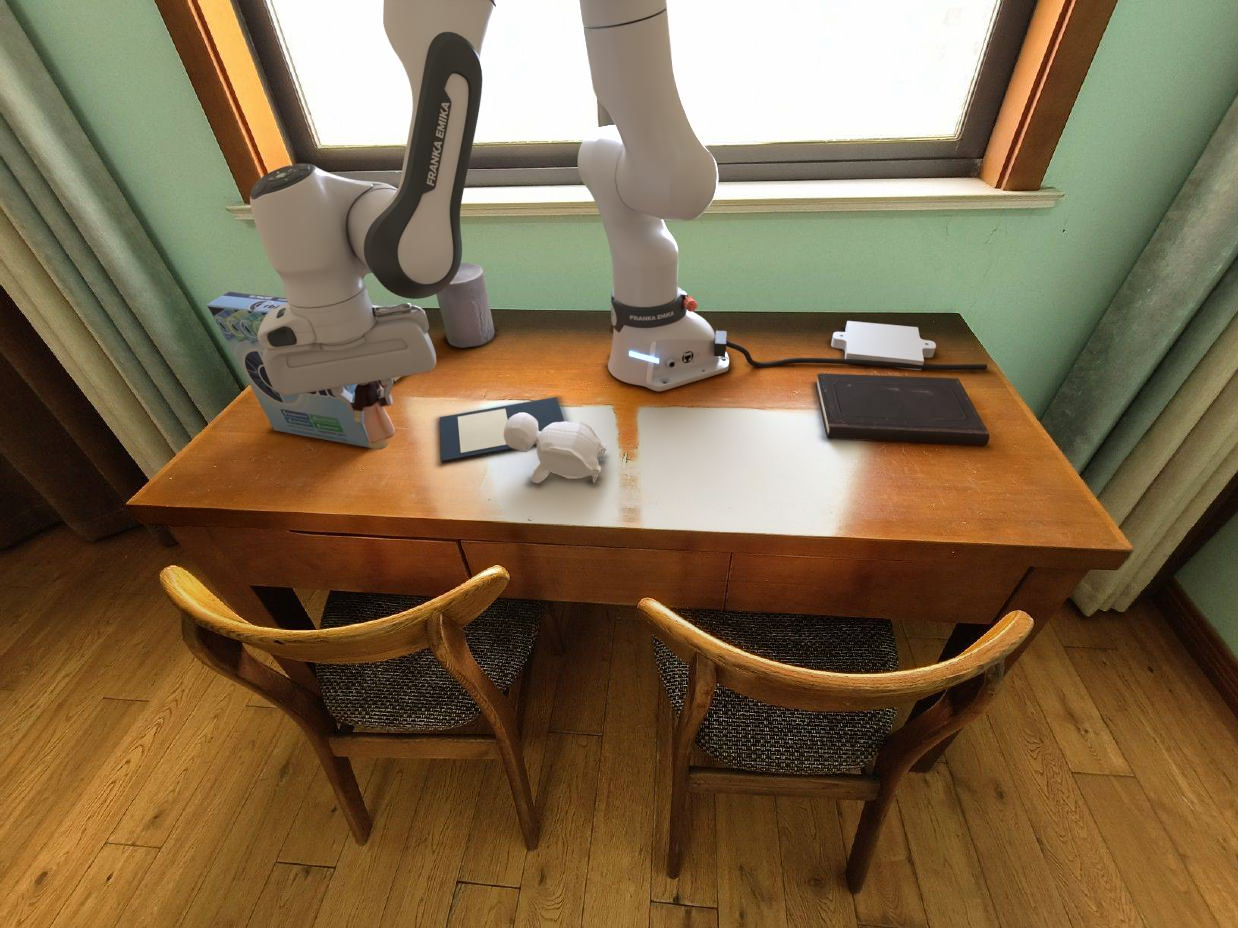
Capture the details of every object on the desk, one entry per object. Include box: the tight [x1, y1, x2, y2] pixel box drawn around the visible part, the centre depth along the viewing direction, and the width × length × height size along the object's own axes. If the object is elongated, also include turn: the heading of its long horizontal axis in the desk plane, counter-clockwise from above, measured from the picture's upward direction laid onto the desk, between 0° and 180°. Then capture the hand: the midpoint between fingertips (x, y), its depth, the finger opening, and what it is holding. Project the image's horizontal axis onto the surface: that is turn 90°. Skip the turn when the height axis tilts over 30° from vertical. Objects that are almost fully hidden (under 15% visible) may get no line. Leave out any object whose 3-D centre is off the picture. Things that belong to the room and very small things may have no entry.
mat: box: [439, 396, 565, 464], centre depth 97 cm, size 20×12×1 cm, turn 104°
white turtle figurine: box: [503, 412, 608, 484], centre depth 87 cm, size 8×8×15 cm
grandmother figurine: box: [353, 380, 396, 451], centre depth 81 cm, size 8×4×13 cm, turn 5°
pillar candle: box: [435, 262, 496, 349], centre depth 118 cm, size 10×10×15 cm
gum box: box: [206, 291, 372, 449], centre depth 91 cm, size 20×5×23 cm, turn 72°
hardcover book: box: [814, 372, 990, 447], centre depth 96 cm, size 16×23×2 cm
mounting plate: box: [830, 320, 937, 371], centre depth 112 cm, size 18×13×2 cm
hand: (371, 406), depth 82 cm, fingers closed on grandmother figurine, 3 cm apart
